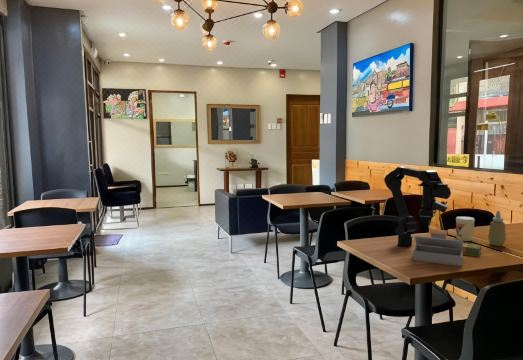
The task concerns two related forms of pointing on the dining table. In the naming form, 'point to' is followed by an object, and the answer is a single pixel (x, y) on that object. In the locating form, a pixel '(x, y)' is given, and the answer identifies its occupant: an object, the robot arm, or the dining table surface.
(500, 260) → the dining table surface
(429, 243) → the flap
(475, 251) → the carton
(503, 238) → the squeeze bottle
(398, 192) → the robot arm
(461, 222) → the coffee cup
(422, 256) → the box
